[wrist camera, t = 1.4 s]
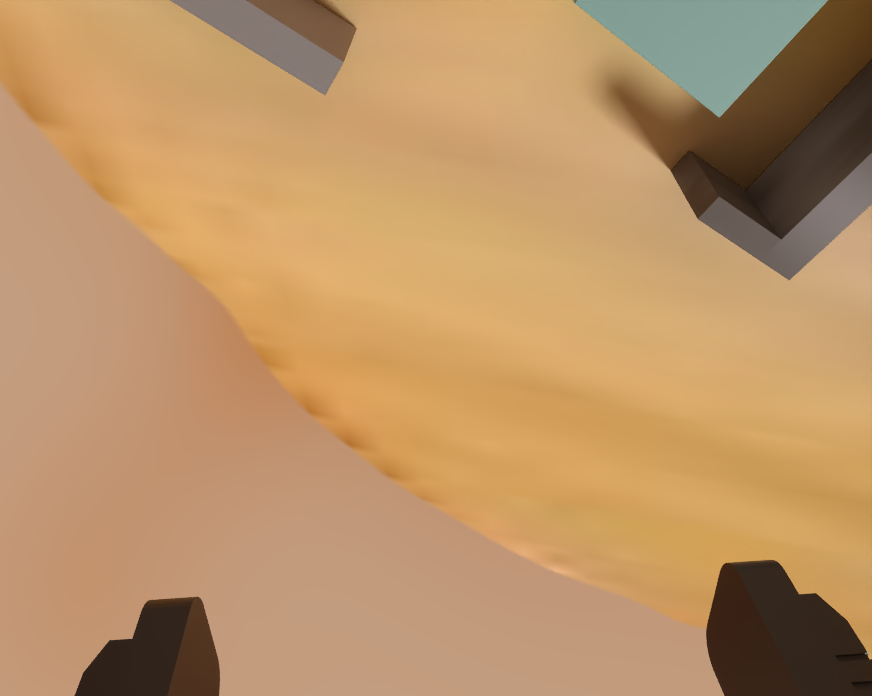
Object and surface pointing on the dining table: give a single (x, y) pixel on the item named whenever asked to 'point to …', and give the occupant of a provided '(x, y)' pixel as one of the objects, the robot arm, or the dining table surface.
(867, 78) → the long-handled tray
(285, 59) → the box
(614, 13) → the teal square block
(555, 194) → the dining table surface
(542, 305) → the dining table surface
